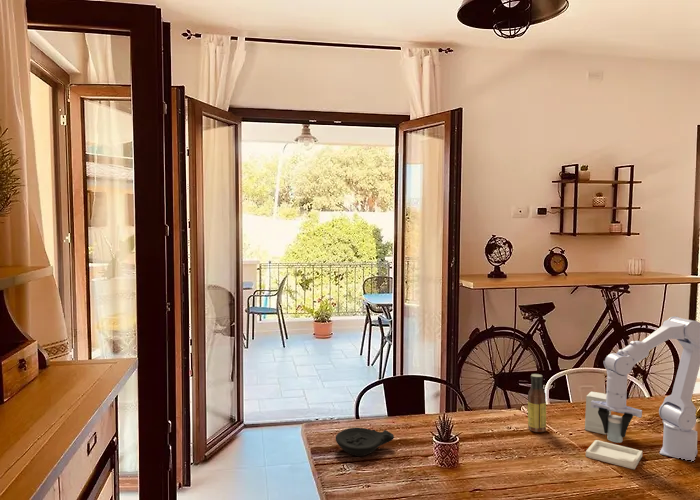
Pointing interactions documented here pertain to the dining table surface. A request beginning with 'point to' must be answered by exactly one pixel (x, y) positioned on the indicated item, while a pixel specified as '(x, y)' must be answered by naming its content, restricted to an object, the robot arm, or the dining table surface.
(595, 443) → the tray
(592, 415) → the supplement box
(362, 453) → the oil lamp
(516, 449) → the dining table surface
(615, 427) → the cylinder
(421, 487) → the dining table surface
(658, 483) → the dining table surface
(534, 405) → the sauce bottle
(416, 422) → the dining table surface
